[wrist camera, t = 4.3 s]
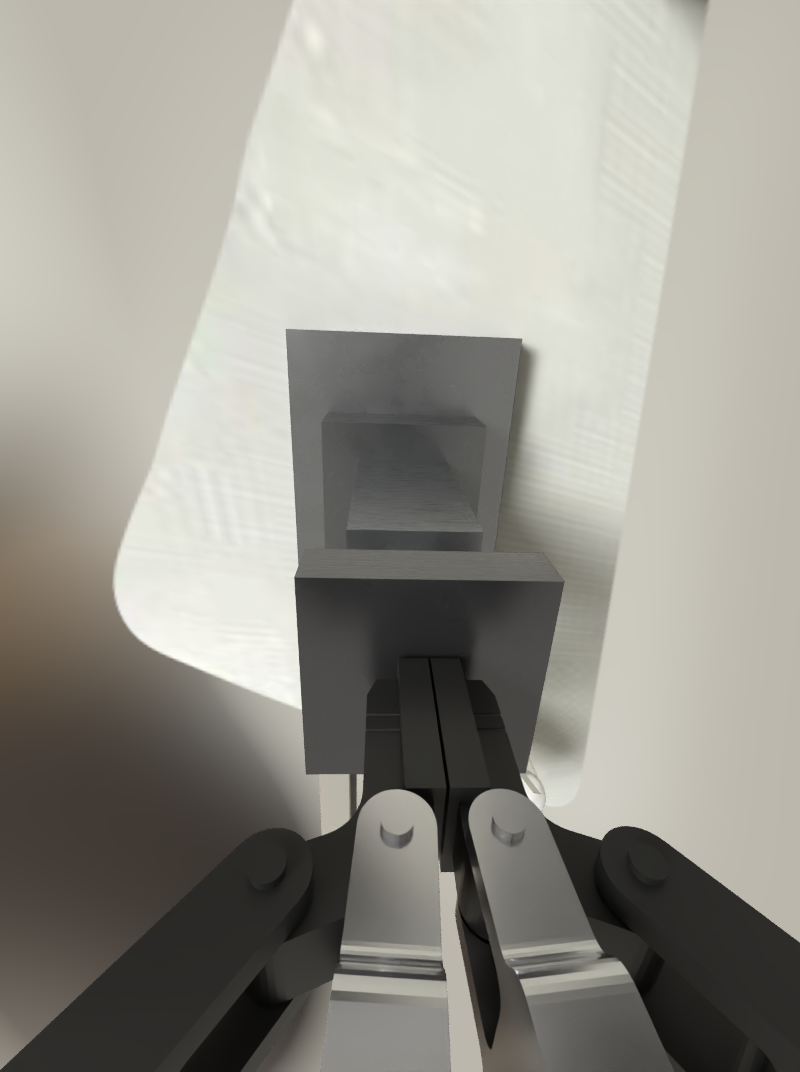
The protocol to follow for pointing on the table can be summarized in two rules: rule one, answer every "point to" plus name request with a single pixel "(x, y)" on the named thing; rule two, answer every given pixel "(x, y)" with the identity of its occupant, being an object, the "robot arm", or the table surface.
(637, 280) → the table surface
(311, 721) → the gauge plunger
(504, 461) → the gauge stand
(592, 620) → the table surface
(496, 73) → the table surface
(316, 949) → the robot arm
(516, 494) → the table surface
